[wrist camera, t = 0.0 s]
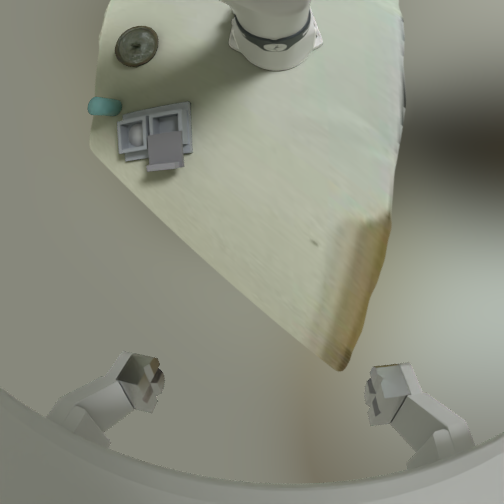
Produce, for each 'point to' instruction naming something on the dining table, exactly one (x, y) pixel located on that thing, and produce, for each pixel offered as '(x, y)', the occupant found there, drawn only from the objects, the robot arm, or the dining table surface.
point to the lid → (136, 46)
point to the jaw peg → (104, 106)
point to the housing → (153, 128)
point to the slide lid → (165, 151)
